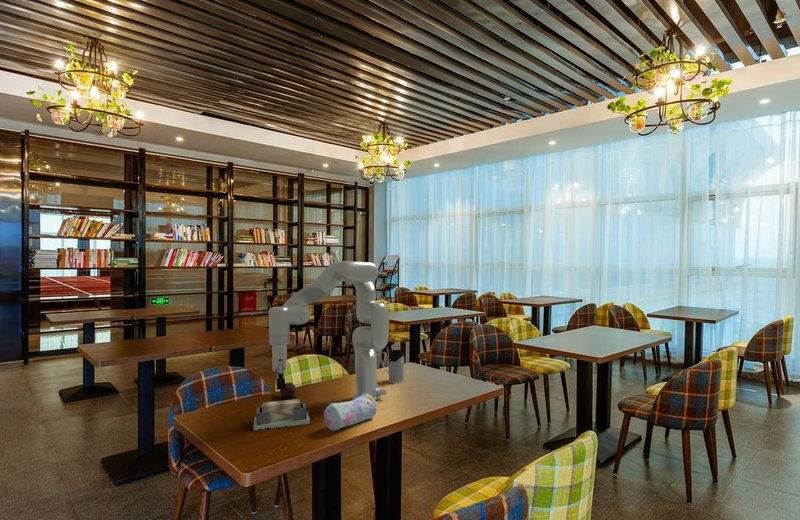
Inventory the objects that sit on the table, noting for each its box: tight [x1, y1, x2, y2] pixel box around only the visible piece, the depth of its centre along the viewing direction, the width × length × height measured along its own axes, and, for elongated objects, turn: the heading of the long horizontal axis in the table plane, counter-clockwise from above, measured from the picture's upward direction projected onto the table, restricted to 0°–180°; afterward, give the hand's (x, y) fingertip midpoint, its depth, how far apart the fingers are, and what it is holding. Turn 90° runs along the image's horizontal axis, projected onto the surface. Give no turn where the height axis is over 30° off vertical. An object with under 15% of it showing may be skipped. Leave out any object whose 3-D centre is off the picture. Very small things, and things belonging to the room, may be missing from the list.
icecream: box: [279, 382, 298, 400], centre depth 209 cm, size 7×7×15 cm
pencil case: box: [323, 393, 377, 432], centre depth 171 cm, size 21×9×10 cm, turn 140°
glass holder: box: [379, 349, 406, 384], centre depth 235 cm, size 9×14×15 cm, turn 57°
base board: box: [253, 411, 311, 431], centre depth 175 cm, size 20×11×2 cm, turn 106°
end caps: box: [255, 401, 308, 425], centre depth 175 cm, size 18×9×4 cm, turn 106°
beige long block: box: [261, 398, 301, 422], centre depth 175 cm, size 14×5×6 cm, turn 105°
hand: (280, 387), depth 175 cm, fingers open, 4 cm apart
